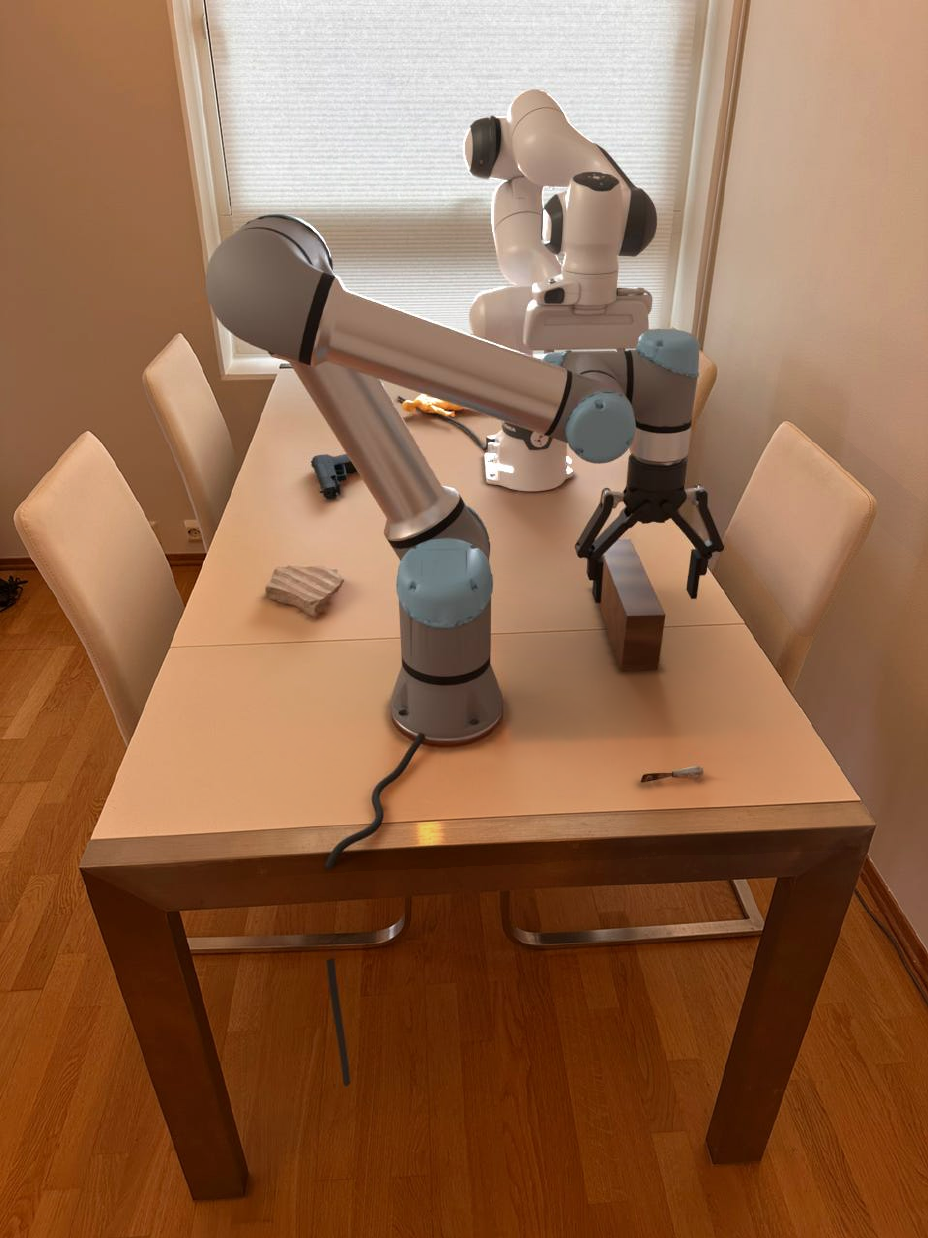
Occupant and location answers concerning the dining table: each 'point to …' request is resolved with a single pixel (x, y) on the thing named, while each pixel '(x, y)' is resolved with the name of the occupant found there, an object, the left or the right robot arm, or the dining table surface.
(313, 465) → the handgun
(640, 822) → the dining table surface
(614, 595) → the bar
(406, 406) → the human figure
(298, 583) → the stone
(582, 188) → the right robot arm
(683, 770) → the putty knife
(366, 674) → the dining table surface
